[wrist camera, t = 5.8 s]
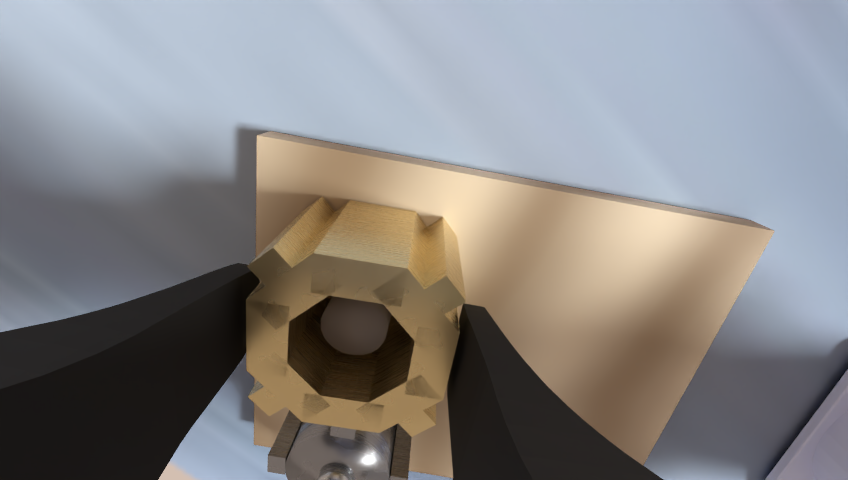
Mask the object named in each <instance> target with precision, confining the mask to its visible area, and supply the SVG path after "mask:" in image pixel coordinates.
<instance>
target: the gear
mask: <svg viewBox="0 0 848 480" xmlns="http://www.w3.org/2000/svg"><path fill="white" fill-rule="evenodd" d="M411 439H412V437H411V436H410V435H409V434H408V433H407V432H406V431H405V430H404V429H403V428H402V427H401V426H400V425H399V423H398V424H396V425H394V426H392V427H390V428H388V429H386V430H384V431H382V432H380V433H376V432H369V431H362V430H355V429H348V428H341V427H334V426H328V425H321V424H314V423H307V422H302V421H301V420H300V419H299V418H297V417H296V416H295V415H294V414H293V413H292V412H291V411H290V410H289V412H288V414H287V416H286V418H285V420H284V423H283V425H282V427H281V429H280V431H279V433H278V435H277V437H276V440H275V442H274V444H273V446H272V448H271V450H270V452H269V454H268V472H273V473H279V474H285V473H286V476H287V479H288V480H408V472H409V461H410V450H411Z"/></svg>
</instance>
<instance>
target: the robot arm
mask: <svg viewBox="0 0 848 480" xmlns="http://www.w3.org/2000/svg"><path fill="white" fill-rule="evenodd" d="M247 266H248V265H246V264H240V263H237V264H234V265H230V266H227V267H224V268H221V269H218V270H215V271H213V272H210V273H207V274H205V275H202V276H199V277H197V278H194V279H191V280H189V281H186V282H183V283H180V284H178V285H175V286H172V287H170V288H167V289H164V290H161V291H158V292H155V293H152V294H149V295H146V296H143V297H140V298H137V299H134V300H131V301H128V302H125V303H122V304H119V305H115V306H112V307H108V308H105V309H101V310H98V311H94V312H90V313H86V314H82V315H79V316H75V317H71V318H67V319H63V320H58V321H54V322H49V323H44V324H39V325H34V326H29V327H24V328H19V329H15V330H10V331H5V332H0V480H158V479H159V477H160V476H161V474H162V472H163V471H164V469H165V467H166V466H167V464H168V463H169V461H170V459H171V458H172V456H173V454H174V453H175V451H176V449H177V448H178V446H179V445H180V443H181V442H182V440H183V439H184V437H185V436H186V434H187V433H188V431H189V430H190V429H191V427H192V426H193V424H194V423H195V422H196V420H197V419H198V418H199V416H200V415H201V414H202V412H203V411H204V410H205V408H206V407H207V406H208V404H209V403H210V402H211V400H212V399H213V398H214V396H215V395H216V394H217V392H218V391H219V390H220V388H221V387H222V386H223V384H224V383H225V382H226V380H227V379H228V378H229V376H230V375H231V374H232V372H233V371H234V369H235V368H236V367H237V365H238V364H239V363H240V361H241V360H242V358H243V357H244V355H245V353H246V299H247V298H248V297H249V296H250V294H251V293H252V292H253V291H254V290H255V289H256V287H257V286H258V285H259V284H260V279H259V278H258V277H257V276H256V275H255V274H254V273H253V272H252V271H251V270H250V269H249V268H248V267H247ZM459 331H460V334H459V338H458V342H457V346H456V350H455V354H454V358H453V362H452V366H451V370H450V374H449V379H448V383H447V400H448V414H449V428H450V441H451V454H452V468H453V480H663V479H662V478H660V477H659V476H657V475H656V474H654V473H653V472H651V471H650V470H649V469H647V468H646V467H644V466H643V465H641V464H640V463H639V462H637V461H636V460H634V459H633V458H632V457H630V456H629V455H627V454H626V453H625V452H623V451H622V450H621V449H619V448H618V447H617V446H615V445H614V444H613V443H611V442H610V441H609V440H607V439H606V438H605V437H604V436H603V435H601V434H600V433H599V432H598V431H596V430H595V429H594V428H593V427H592V426H590V425H589V424H588V423H587V422H586V421H584V420H583V419H582V418H581V417H580V416H579V415H577V414H576V413H575V412H574V411H573V410H572V409H571V408H570V407H568V406H567V405H566V404H565V403H564V402H563V401H562V400H561V399H560V398H559V397H558V396H557V395H556V394H555V393H554V392H553V391H552V390H551V389H550V388H549V387H548V386H547V385H546V384H545V383H544V382H543V381H542V380H541V379H540V378H539V376H538V375H537V374H536V373H535V372H534V371H533V370H532V369H531V367H530V366H529V365H528V364H527V363H526V362H525V360H524V359H523V358H522V357H521V356H520V354H519V353H518V352H517V351H516V349H515V348H514V347H513V346H512V344H511V343H510V342H509V340H508V339H507V338H506V336H505V335H504V334H503V332H502V331H501V329H500V328H499V327H498V325H497V324H496V322H495V321H494V320H493V318H492V317H491V315H490V314H489V313H488V311H487V310H486V308H485V307H482V306H476V305H470V304H465V303H463V305H462V309H461V314H460V318H459ZM765 480H848V369H847V371H846V372H845V373H844V375H843V376H842V377H841V379H840V380H839V381H838V383H837V384H836V385H835V387H834V388H833V389H832V391H831V392H830V393H829V395H828V396H827V397H826V399H825V400H824V401H823V403H822V404H821V406H820V407H819V408H818V410H817V411H816V412H815V414H814V415H813V416H812V418H811V419H810V420H809V422H808V423H807V424H806V426H805V427H804V428H803V430H802V431H801V432H800V434H799V435H798V436H797V438H796V439H795V440H794V442H793V443H792V444H791V446H790V447H789V448H788V450H787V451H786V452H785V454H784V455H783V456H782V458H781V459H780V460H779V462H778V463H777V464H776V466H775V467H774V468H773V470H772V471H771V472H770V474H769V475H768V476H767V478H766V479H765Z"/></svg>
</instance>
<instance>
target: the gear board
mask: <svg viewBox="0 0 848 480" xmlns="http://www.w3.org/2000/svg"><path fill="white" fill-rule="evenodd" d="M322 196H323V198H324V199H325V200H326V201H327V203H328V204H329V205H330V206H331V207H332V209H333V210H334V211H336V210H337V209H339V208H340V207H341V206H343V205H344V204H346V203H347V202H348V201H350V200H352V201H358V202H364V203H370V204H376V205H381V206H387V207H393V208H399V209H405V210H411V211H416V212H417V214H418V215H419V216H420V218H421V219H422V220H423V222H424V223H425V224H426V226H427V227H428V226H430V225H431V224H433V223H434V222H436V221H437V220H439V219H440V218H442V217H444V219H445V220H446V222H447V223H448V224H449V226H450V227H451V229H452V230H453V231H454V233H455V234H456V235H457V240H458V247H459V254H460V261H461V268H462V275H463V282H464V289H465V296H466V302H465V304H470V305H476V306H482V307H485V308H486V310H487V311H488V313H489V314H490V315H491V317H492V318H493V320H494V321H495V322H496V324H497V325H498V327H499V328H500V329H501V331H502V332H503V334H504V335H505V336H506V338H507V339H508V340H509V342H510V343H511V344H512V346H513V347H514V348H515V349H516V351H517V352H518V353H519V354H520V356H521V357H522V358H523V359H524V360H525V362H526V363H527V364H528V365H529V366H530V367H531V369H532V370H533V371H534V372H535V373H536V374H537V375H538V376H539V378H540V379H541V380H542V381H543V382H544V383H545V384H546V385H547V386H548V387H549V388H550V389H551V390H552V391H553V392H554V393H555V394H556V395H557V396H558V397H559V398H560V399H561V400H562V401H563V402H564V403H565V404H566V405H567V406H568V407H570V408H571V409H572V410H573V411H574V412H575V413H576V414H577V415H579V416H580V417H581V418H582V419H583V420H584V421H586V422H587V423H588V424H589V425H590V426H592V427H593V428H594V429H595V430H596V431H598V432H599V433H600V434H601V435H603V436H604V437H605V438H606V439H607V440H609V441H610V442H611V443H613V444H614V445H615V446H617V447H618V448H619V449H621V450H622V451H623V452H625V453H626V454H627V455H629V456H630V457H632V458H633V459H634V460H636V461H637V462H639V463H640V464H641V465H644V463H645V461H646V460H647V458H648V456H649V454H650V452H651V451H652V449H653V447H654V445H655V444H656V442H657V440H658V438H659V436H660V435H661V433H662V431H663V429H664V428H665V426H666V424H667V422H668V420H669V419H670V417H671V415H672V413H673V411H674V410H675V408H676V406H677V404H678V403H679V401H680V399H681V397H682V395H683V394H684V392H685V390H686V388H687V386H688V385H689V383H690V381H691V379H692V378H693V376H694V374H695V372H696V370H697V369H698V367H699V365H700V363H701V362H702V360H703V358H704V356H705V354H706V353H707V351H708V349H709V347H710V345H711V344H712V342H713V340H714V338H715V337H716V335H717V333H718V331H719V329H720V328H721V326H722V324H723V322H724V321H725V319H726V317H727V315H728V313H729V312H730V310H731V308H732V306H733V304H734V303H735V301H736V299H737V297H738V296H739V294H740V292H741V290H742V288H743V287H744V285H745V283H746V281H747V280H748V278H749V276H750V274H751V272H752V271H753V269H754V267H755V265H756V263H757V262H758V260H759V258H760V256H761V255H762V253H763V251H764V249H765V247H766V246H767V244H768V242H769V240H770V238H771V237H772V235H773V233H774V230H771V229H769V228H767V227H765V226H763V225H760V224H758V223H756V222H754V221H751V220H747V219H741V218H736V217H731V216H725V215H720V214H715V213H709V212H704V211H698V210H693V209H688V208H682V207H677V206H671V205H666V204H661V203H655V202H650V201H644V200H639V199H634V198H628V197H623V196H617V195H612V194H607V193H601V192H596V191H591V190H585V189H580V188H574V187H569V186H564V185H558V184H553V183H547V182H542V181H537V180H531V179H526V178H520V177H515V176H510V175H504V174H499V173H493V172H488V171H483V170H477V169H472V168H466V167H461V166H456V165H450V164H445V163H440V162H434V161H429V160H423V159H418V158H413V157H407V156H402V155H396V154H391V153H386V152H380V151H375V150H369V149H364V148H359V147H353V146H348V145H342V144H337V143H332V142H326V141H321V140H316V139H310V138H305V137H299V136H294V135H289V134H283V133H278V132H272V131H270V132H266V133H263V134H259V135H257V173H256V257H257V256H258V255H259V254H260V253H261V252H262V251H263V250H264V249H265V248H266V247H267V246H268V245H269V244H270V243H271V242H272V241H273V240H274V239H275V238H276V237H277V236H278V235H279V234H280V233H281V232H282V231H283V230H284V229H285V228H286V227H287V226H288V225H289V224H290V223H291V222H292V221H293V220H294V219H295V218H296V217H297V216H298V215H299V214H300V213H301V212H302V211H303V210H304V209H306V208H307V207H308V206H310V205H311V204H312V203H314V202H315V201H316V200H318V199H319V198H321V197H322ZM261 282H262V281H261V280H260V283H261ZM462 305H463V304H462ZM462 305H460V306H458V307H457V311H458V321H459V318H460V314H461V309H462ZM390 318H391V313H390V312H389V310H388V309H387V308H386V307H385V306H384V305H383V304H379V303H373V302H367V301H360V300H354V299H348V298H341V297H335V296H332V297H331V299H330V301H329V303H328V305H327V307H326V309H325V311H324V313H323V315H322V317H321V331H322V334H323V336H324V338H325V339H326V341H327V342H328V343H329V344H330V345H331V346H332V347H334V348H335V349H337V350H338V351H340V352H343V353H346V354H350V355H364V354H368V353H371V352H373V351H375V350H376V349H378V348H379V347H380V346H381V345H382V344H383V342H384V341H385V338H386V335H387V331H388V327H389V322H390ZM256 382H257V380H256V379H255V380H254V385H255V384H256ZM288 412H289V409H288V408H287V407H284V408H283V409H281V410H279V411H277V412H276V413H274V414H272V415H271V416H268V415H267V414H266V413H265V412H264V411H263V410H262V409H261V408H259V407H258V406H257V405H256V404H255V403H254V445H259V446H265V447H271V448H272V446H273V444H274V442H275V440H276V437H277V435H278V433H279V431H280V429H281V427H282V425H283V423H284V420H285V418H286V416H287V414H288ZM409 471H414V472H420V473H426V474H432V475H438V476H444V477H450V478H453V468H452V454H451V441H450V428H449V414H448V400H447V387H446V391H445V395H444V399H443V400H442V401H440V402H438V403H436V425H435V426H433V427H431V428H429V429H427V430H425V431H423V432H421V433H419V434H417V435H415V436H413V437H412V439H411V450H410V461H409Z"/></svg>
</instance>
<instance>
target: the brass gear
mask: <svg viewBox="0 0 848 480" xmlns="http://www.w3.org/2000/svg"><path fill="white" fill-rule="evenodd" d="M247 267H248V268H249V269H250V270H251V271H252V272H253V273H254V274H255V275H256V276H257V277H258V278H259V279H260V280H261V281H262V282H261V283H260V284H259V285H258V286H257V287H256V289H255V290H254V291H253V292H252V293H251V294H250V296H249V297H248V298H247V299H246V370H247V371H248V372H249V373H250V374H251V375H252V376H253V377H254V378H255V379H256V380H257V382H256V384H255V385H254V387H253V389H252V390H251V392H250V394H249V395H248V398H249V399H250V400H252V401H253V402H254V403H255V404H256V405H257V406H258V407H259V408H261V409H262V410H263V411H264V412H265V413H266V414H267V415H268V416H271V415H272V414H274V413H276V412H277V411H279V410H281V409H283V408H284V407H287V408H288V409H289V410H290V411H291V412H292V413H293V414H294V415H295V416H296V417H297V418H299V419H300V420H301V421H302V422H307V423H314V424H321V425H328V426H334V427H341V428H348V429H355V430H362V431H369V432H376V433H380V432H382V431H384V430H386V429H388V428H390V427H392V426H394V425H396V424H398V423H399V425H400V426H401V427H402V428H403V429H404V430H405V431H406V432H407V433H408V434H409V435H410V436H411V437H413V436H415V435H417V434H419V433H421V432H423V431H425V430H427V429H429V428H431V427H433V426H435V425H436V403H438V402H440V401H442V400H443V399H444V395H445V391H446V387H447V383H448V379H449V374H450V370H451V366H452V362H453V358H454V354H455V350H456V346H457V342H458V338H459V334H460V331H459V321H458V311H457V307H458V306H460V305H462V304H463V303H465V302H466V296H465V289H464V282H463V275H462V268H461V261H460V254H459V247H458V240H457V235H456V234H455V233H454V231H453V230H452V229H451V227H450V226H449V224H448V223H447V222H446V220H445V219H444V217H442V218H440V219H439V220H437V221H436V222H434V223H433V224H431V225H430V226H428V227H427V226H426V224H425V223H424V222H423V220H422V219H421V218H420V216H419V215H418V214H417V212H416V211H411V210H405V209H399V208H393V207H387V206H381V205H376V204H370V203H364V202H358V201H352V200H350V201H348V202H347V203H346V204H344V205H343V206H341V207H340V208H339V209H337V210H336V211H334V210H333V209H332V207H331V206H330V205H329V204H328V203H327V201H326V200H325V199H324V198H323V196H322V197H321V198H319V199H318V200H316V201H315V202H314V203H312V204H311V205H310V206H308V207H307V208H306V209H304V210H303V211H302V212H301V213H300V214H299V215H298V216H297V217H296V218H295V219H294V220H293V221H292V222H291V223H290V224H289V225H288V226H287V227H286V228H285V229H284V230H283V231H282V232H281V233H280V234H279V235H278V236H277V237H276V238H275V239H274V240H273V241H272V242H271V243H270V244H269V245H268V246H267V247H266V248H265V249H264V250H263V251H262V252H261V253H260V254H259V255H258V256H257V257H256V258H255V259H254V260H253V261H252V262H251V263H250V264H249V265H248V266H247ZM332 296H335V297H341V298H348V299H354V300H360V301H367V302H373V303H379V304H383V305H384V306H385V307H386V308H387V309H388V310H389V312H390V313H391V318H390V322H389V327H388V331H387V335H386V338H385V341H384V342H383V344H382V345H381V346H380V347H379V348H378V349H376V350H375V351H373V352H371V353H368V354H364V355H350V354H346V353H343V352H340V351H338V350H337V349H335V348H334V347H332V346H331V345H330V344H329V343H328V342H327V341H326V339H325V338H324V336H323V334H322V331H321V317H322V315H323V313H324V311H325V309H326V307H327V305H328V303H329V301H330V299H331V297H332Z"/></svg>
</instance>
